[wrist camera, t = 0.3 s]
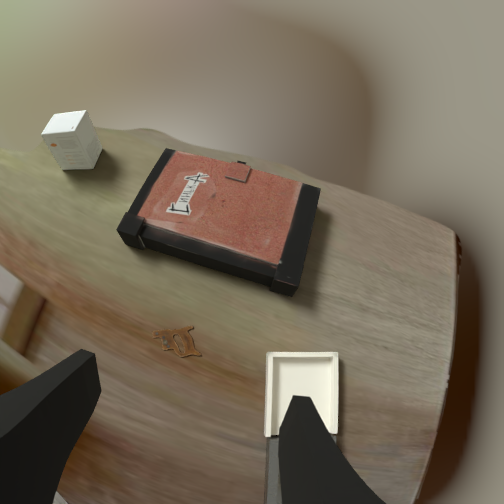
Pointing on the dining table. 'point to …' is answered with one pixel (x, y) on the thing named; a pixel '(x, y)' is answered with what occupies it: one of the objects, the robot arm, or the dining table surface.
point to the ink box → (59, 499)
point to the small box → (72, 140)
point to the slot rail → (273, 472)
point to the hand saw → (170, 343)
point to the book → (224, 218)
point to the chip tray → (301, 386)
